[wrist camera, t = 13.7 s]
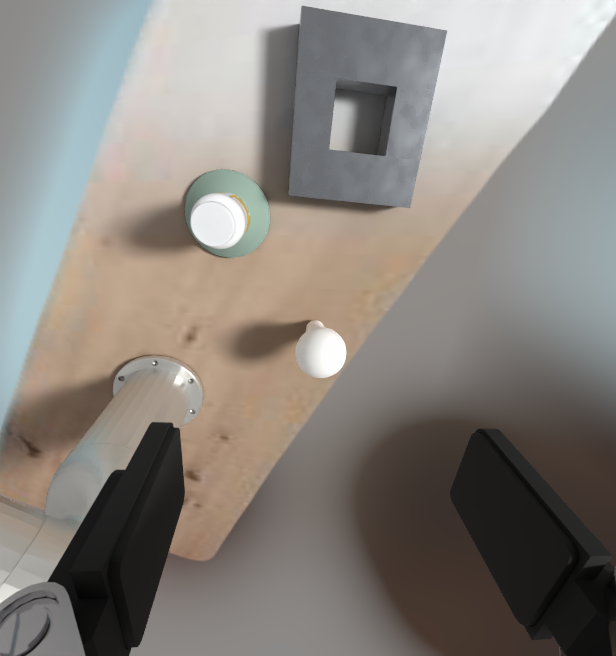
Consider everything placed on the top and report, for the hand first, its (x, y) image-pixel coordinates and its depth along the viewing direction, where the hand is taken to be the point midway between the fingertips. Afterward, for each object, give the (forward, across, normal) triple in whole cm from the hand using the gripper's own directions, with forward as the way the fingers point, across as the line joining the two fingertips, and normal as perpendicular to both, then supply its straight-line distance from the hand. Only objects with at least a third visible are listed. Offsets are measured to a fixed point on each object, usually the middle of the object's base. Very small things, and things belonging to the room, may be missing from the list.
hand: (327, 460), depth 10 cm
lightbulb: (+34, -4, +10) cm, 36 cm away
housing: (+34, -6, -15) cm, 38 cm away
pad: (+34, +8, -4) cm, 35 cm away
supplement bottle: (+34, +8, -4) cm, 35 cm away
